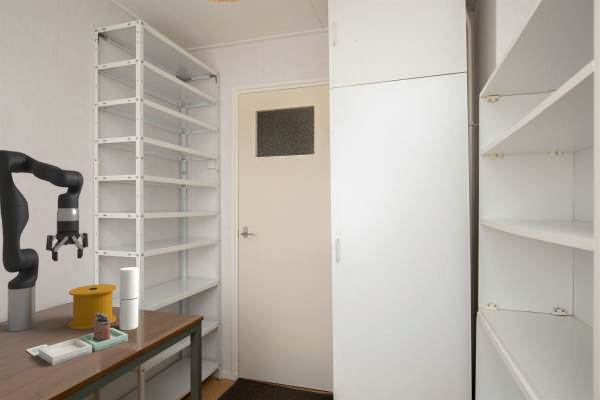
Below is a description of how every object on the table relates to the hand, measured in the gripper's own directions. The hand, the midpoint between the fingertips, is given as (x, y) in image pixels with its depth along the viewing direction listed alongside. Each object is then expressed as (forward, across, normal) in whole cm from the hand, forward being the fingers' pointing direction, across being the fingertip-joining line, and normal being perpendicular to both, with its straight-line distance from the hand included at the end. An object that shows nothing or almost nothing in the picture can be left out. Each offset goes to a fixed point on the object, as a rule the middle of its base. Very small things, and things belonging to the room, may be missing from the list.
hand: (67, 259), depth 140 cm
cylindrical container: (+30, -19, +12) cm, 38 cm away
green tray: (+30, -5, +20) cm, 36 cm away
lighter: (+29, -4, +20) cm, 36 cm away
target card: (+30, +12, +9) cm, 34 cm away
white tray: (+30, +8, +20) cm, 37 cm away
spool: (+30, -13, -7) cm, 34 cm away
